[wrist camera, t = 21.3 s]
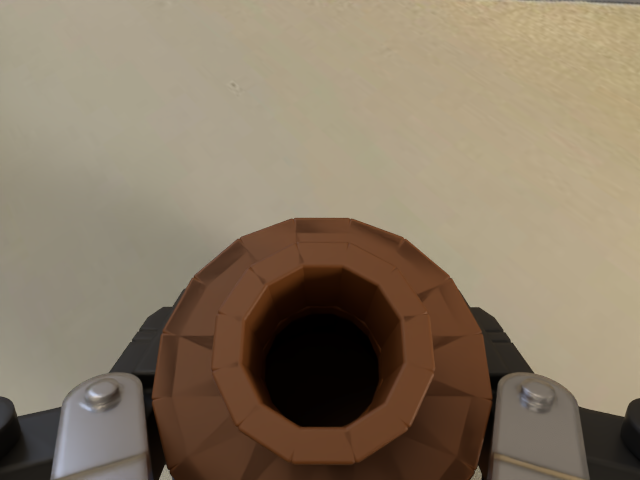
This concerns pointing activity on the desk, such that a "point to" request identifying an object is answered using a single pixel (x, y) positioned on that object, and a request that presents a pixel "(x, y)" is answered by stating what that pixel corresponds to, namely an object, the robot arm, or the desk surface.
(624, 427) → the robot arm
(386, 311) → the bottle
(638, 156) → the desk surface
